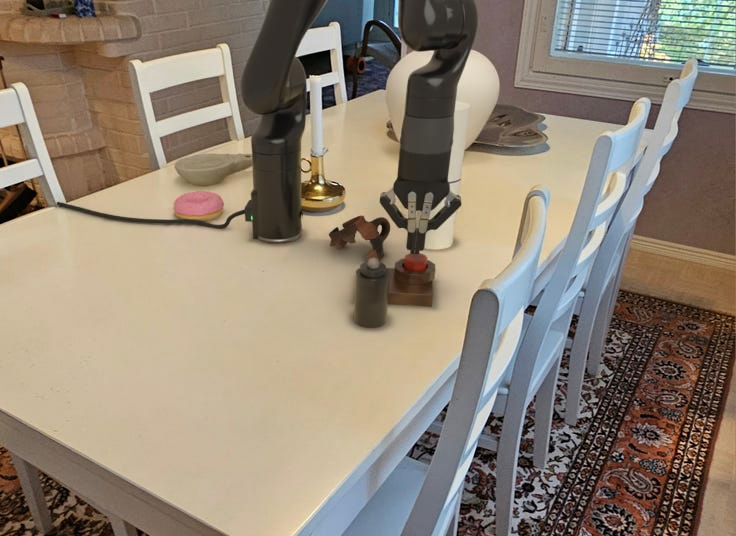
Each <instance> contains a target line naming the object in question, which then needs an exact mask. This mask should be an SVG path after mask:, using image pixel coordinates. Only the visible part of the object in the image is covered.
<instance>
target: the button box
mask: <svg viewBox="0 0 736 536" xmlns="http://www.w3.org/2000/svg"><path fill="white" fill-rule="evenodd" d="M404 259H405V257H404V258H401V259H398V261H396V262H395V263H394V267H386V269H388V270H389V272H390V280H389V293H388V305H391V306H392V305H394V306H409V307H427V308H431V307H433V299H434V280H435V277H436V275H435V274H436V264H435V262H432V260H429V259H427V265H426V270H424V271H419V272H416V271H409V270H406V269H404Z"/></svg>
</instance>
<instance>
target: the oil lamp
mask: <svg viewBox="0 0 736 536" xmlns="http://www.w3.org/2000/svg"><path fill="white" fill-rule="evenodd" d="M251 167H253V166H252V153H237V154H234V153H202V154H201V153H200V154H195V155H192V156H188V157H183V158H180V159H178V160H176V161H175V163H174V170H175V171H176V173H177V174H178V175H179V176H180V177H181V178H182V179H183V180H184V181H186V182H187V183H189V184H191V185H193V186H197V187H207V186H212V185H217V184H219V183H221V182H222V181H224V180H225V179H226V178H228V177H229V176H231V175H234V174H236V173H240V172H242V171H245V170H247V169H249V168H251Z"/></svg>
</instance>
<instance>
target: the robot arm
mask: <svg viewBox="0 0 736 536" xmlns="http://www.w3.org/2000/svg"><path fill="white" fill-rule="evenodd" d="M328 1H329V0H269V2H268V6H267V9H266V13H265V16H264V20H263V22H262V25H261V27H260V29H259V32H258V35H257V37H256V40H255V42H254V44H253V46H252V49H251V50H250V53H249V55H248V57H247V61H246V63H245V65H244V68H243V70H242V74H241V77H240V95H241V98H242V102H243V103H244V105H245V107H246V108H247V109H248V110H249V111H250V112H251V113H253V114H255V115H259V116H260V119H259V122H258V124H257V125H256V126H255V129H254V130H253V131H252V133H251V137H250V141H251V142H250V145H251V147H250V148H251V154H252V166H251V167H252V186H253V189H252V190H251V192H250V199H249V200H248V201H247V203H246V204H245V206H244V208H243V209H241V210H239V211H236V212H234V213H232V214H230V215H228V217H227V218H226V219H225V222H224V223H222V224H214V223H210V222H208V221H199V220H187V219H180V218H179V219H178V218H177V219H158V218H138V217H129V216H121V215H115V214H109V213H104V212H99V211H95V210H92V209H88V208H85V207H81V206H77V205H74V204H69V203H64V202H60V201H57V202H56V206H59V207H61V208H62V207H63V208H66V209H70V210H73V211H78V212H80V213H81V212H82V213H85V214H89V215H92V216H97V217H101V218H106V219H111V220H116V221H122V222H129V223H130V222H131V223H139V224H141V223H143V224H164V225H166V224H167V225H168V224H169V225H171V224H173V225H174V224H175V225H178V224H180V225H181V224H182V225H183V224H187V225H188V224H189V225H198V226H203V227H206V228H211V229H217V230H222V229H226V228H227V227H228V226H229V225H230V223H231V222H232V220H233V219H235V218H237V217H239V216H242V215H244V221H245V222H248V223H249V222H250V223H251V226H252V240H256V241H257V240H258V241H260V242H263V243H267V244H277V245H278V244H287V243H292V242H294V241H297V240H299V239H300V238H301V237H302V236H303V228H302V227H303V223H302V219H304V211H303V208H302V139H303V136H304V133H305V130H306V124H307V123H306V122H307V121H306V120H307V98H308V97H307V96H308V83H307V75H306V71H305V68H304V65H303V64H302V62H301V61H300V58H298V57H297V56H296V55H297V52H298V50H299V47H300V45H301V43H302V41H303V39H304V37H305V36H306V34H307V33H308V31H309V29H311V26H312V25H313V24H314V22H315V21H316V19H317V18H318V17H319V15H320V13H321V12H322V10H323V9H324V8H325V6H326V4H327V3H328ZM397 8H398V10H397V11H398V12H397V25H398V27H397V28H398V32H399V35H400V38H401V40H402V42H403V43H404V44H405V46H406V47H407V48H408V49H410V50H411V51H412V52H413V51H416V52H425V51H432V50H433V51H434V53H433V55H432V58H431V60H430V61H429V62H428V63H427V64H426V65H425V66H423V67H421V68H418V69H416V70H415V71H413V72H412V73H411V74H410V75H409V78H408V82H407V90H406V101H405V113H404V119H403V123H402V129H401V137H400V142H399V153H398V162H397V163H398V165H397V174H396V175H397V177H396V179H395V181H394V182H393V186H392V187H391V188H390V189H389V190H387V191H383V192H382V193H380V195H379V204H380V206H381V207H382V208H383V209H384V211H385V212H386V213H387V215H388V216H389V218H390V219H391V221H392V222H393V223H394V225H395V226H396V227H397V228H398V229H404V230H406V231H407V232H406V233H407V235H406V245H405V247H406V250H407V251H409V253H410V254H414V253H415V254H419V253H420V251H421V252H422V251H424V249H425V248H424V246H425V237H426V233H427V231H429V230H432V229H433V230H437V229H438V228H439V227H440V226H441V225H442V224H443V223H444V222H445V221H446V220H447V219H448V218H449V217H450V216H451V215H452V214H453V213H454V212H455V211H456V210H457V211H458V210H459V209H460V208H461V207H462V197H461V196H460V194H459V195H455V194H454V193H452V192H451V191H450V185H449V183H448V173H449V165H450V157H451V149H452V145H453V134H454V112H455V104H456V96H457V86H458V82H459V80H460V77H461V75H462V72H463V70H464V67H465V64H466V62H467V59H468V56H469V54H470V51H471V50H473V49H472V48H473V45H474V43H475V41H476V37H477V34H478V30H479V23H480V13H479V12H480V11H479V6H478V3H477V1H476V0H398V7H397ZM395 196H396V197H397V198H396V197H395ZM445 197H446V200H445V201H444V204H445V206H444V207H443V208H442V209H441V210H440V211H439V212H438V213H437V214H436V215H435V216H434V217H433V218H432V219H430V220H429V216H430V211H431V210H433V209H435V208H436V207H437V206H438V204H439V203H440V202H441V201H442V200H443V199H444V198H445ZM396 199H398V200H399V202H400V204H401V205H402V206H403V208H404V209H406V211H407V217H405V216H404V215H403V213H402V212H401V210H400V209H399V208H398V206H397V204H396ZM417 211H421V215H420V220H419V228H416V215H417Z"/></svg>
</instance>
